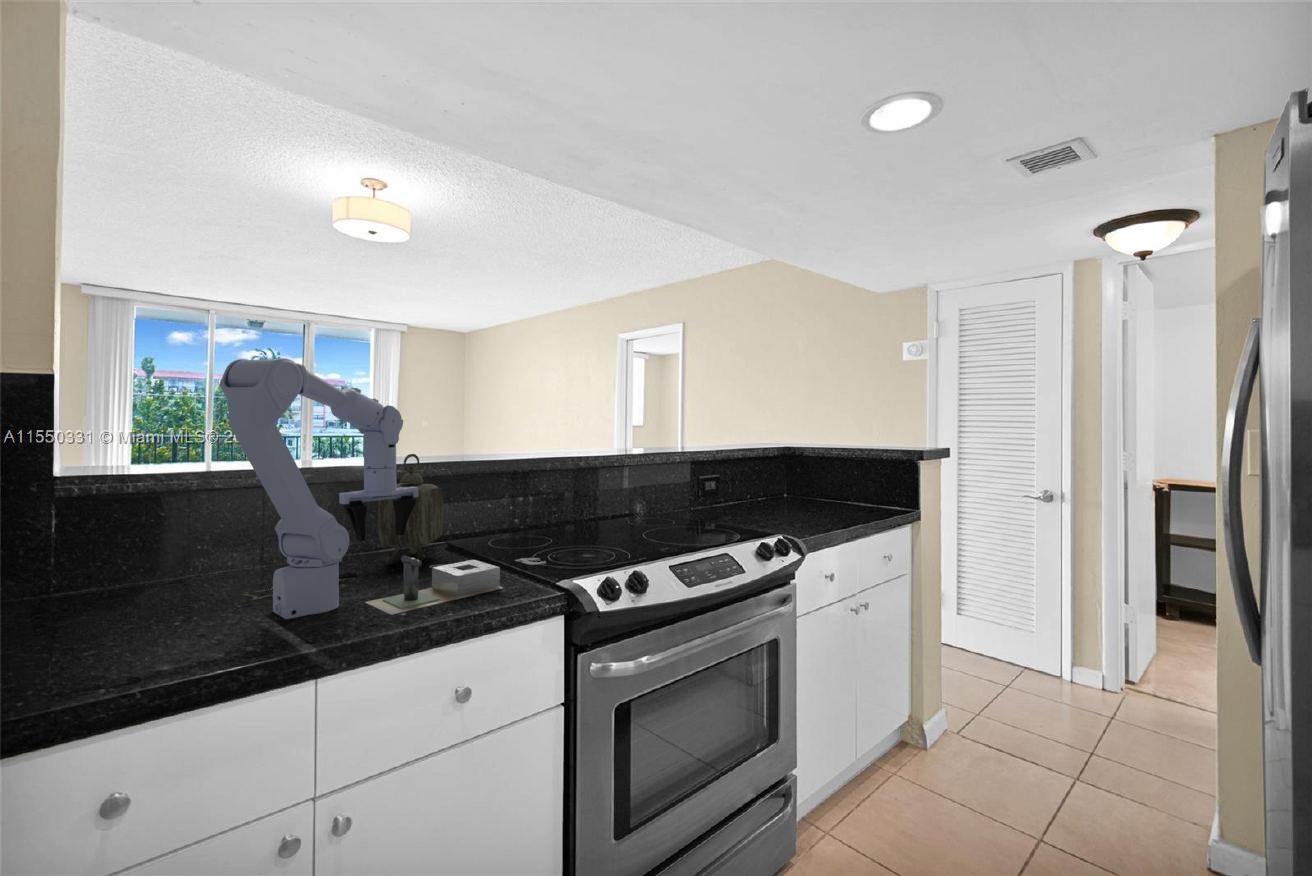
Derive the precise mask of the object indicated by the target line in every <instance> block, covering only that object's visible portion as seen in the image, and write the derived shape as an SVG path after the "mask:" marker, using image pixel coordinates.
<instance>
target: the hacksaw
mask: <svg viewBox="0 0 1312 876" xmlns="http://www.w3.org/2000/svg"><path fill="white" fill-rule="evenodd" d="M359 574H360V572H359V571H356V570H355V569H352V570H351V569H350V570H347V571H344V572H339V584H342V583H343V584H345V583H347V581H348V583H351V582H354V581H355V580H356V579H355V578H354V577H356V576H357V575H359ZM269 588H270V590H269ZM269 588H267V589H268V590H265V589H266V588H265V589H261V590H260V589H259V590H255V591H253V593H263V592H266V591H267V592H268V591H273V590H272V589H273V587H269ZM243 593H244V594H243ZM243 593H241V594H242V595H241V596H243V597H248V598H251V599H249V601H250V602H251V601H258V600H264V599H270V598H273V593H271V594H268V595H267V594H266V595H263V596H257V595H252V594H249V592H248V591H246V592H243ZM245 593H247V594H245ZM239 604H240V602H238V603H236V604H233V605H232V606H233V607H234V606H235V608H248V607H251V605H250V604H247V605H241V606H238V605H239Z"/></svg>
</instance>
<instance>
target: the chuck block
mask: <svg viewBox="0 0 1312 876" xmlns="http://www.w3.org/2000/svg"><path fill="white" fill-rule="evenodd" d="M500 587H501V567H500V566H496V565H493V564H490V563H487V562H484V561H480V560H478V559H477V560H476V559H470V560H465V561H459V562H455V563H448V564H445V565H440V566H435V567H431V588H432V589H435V590H438V591H440V592H443V593H446V594H448V595H451V596H454V597H457V598H459V597H464V596H468V595H472V594H476V593H480V592H485V591H489V590H493V589H497V588H500ZM489 592H490V591H489ZM485 593H486V592H485ZM468 597H469V596H468ZM464 598H465V597H464Z"/></svg>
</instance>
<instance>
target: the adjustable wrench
mask: <svg viewBox="0 0 1312 876" xmlns="http://www.w3.org/2000/svg"><path fill="white" fill-rule="evenodd" d="M514 561H515V562H519V563H522V564H525V565H530V566H534V565H544V564H546V565H547V561H546V560H544V561H543V560H542V561H541V557H540V558H539V557H521V558H518V559H514ZM533 561H540V562H533ZM443 565H446V564H445V563H444V564H443V563H442V564H432V565H430V566H428V567H429V569H430V568H432V567H438V566H443ZM534 567H535V566H534Z"/></svg>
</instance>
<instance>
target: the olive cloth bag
mask: <svg viewBox="0 0 1312 876" xmlns="http://www.w3.org/2000/svg"><path fill="white" fill-rule="evenodd" d="M409 458H415V459H416V462H417V463H416V466H414V465H409V468H407V465H406V464H407V461H408V460H409ZM419 466H420V459H419V456H418V455H417V454H415V453H410V454H408V455H406V456H405V457H404V460H403V469H404V470H405V471H406V472H408V473H405V474H404V475H403V476H401V478H400V480H399V483H396V488H400V487H418V497H413V498H414V499H416V504H415V506H414V508H413V509H412V511H411V513H410V516H409V518H408V521H407V524H406V528H405V532H404V535H397V534H396V530H395V510H394V504H393V499H387V500H378V511H377V513H378V514H377V519H378V520H377V521H378V522H377V525H378V538H379V543H380V546H381V547H384V548H394V551H393V553H392V555H391V556H389V557H387V559H386V564H388V565H392V564H394V562H395V559H394V558H395V556H396V555H397V554H398V552H399V551H401V549H403V548H404V549H406V548H407V549H409V548H410V549H409V553H410V554H411V555H415V554H416V553H417V551H418V554H417V559H418V560H420V561H423V560H424V559H425V558H426V556H425V555H426V554H425V553H424V552H422V547H424V546H427V545H428V544H430V543H432V542H434V541H435V540H437V539H439V538H440V537H441V536H442V534H443V529H444V499H443V498H444V495H443V489H441V488H440V487H439V486H437V485H435V484H432V483H424V479H423V477H422V476H421V475H420V474H419V473H415V472H416V471H417V470H418V468H419ZM390 496H391V495H390ZM379 497H388V496H379Z"/></svg>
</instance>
